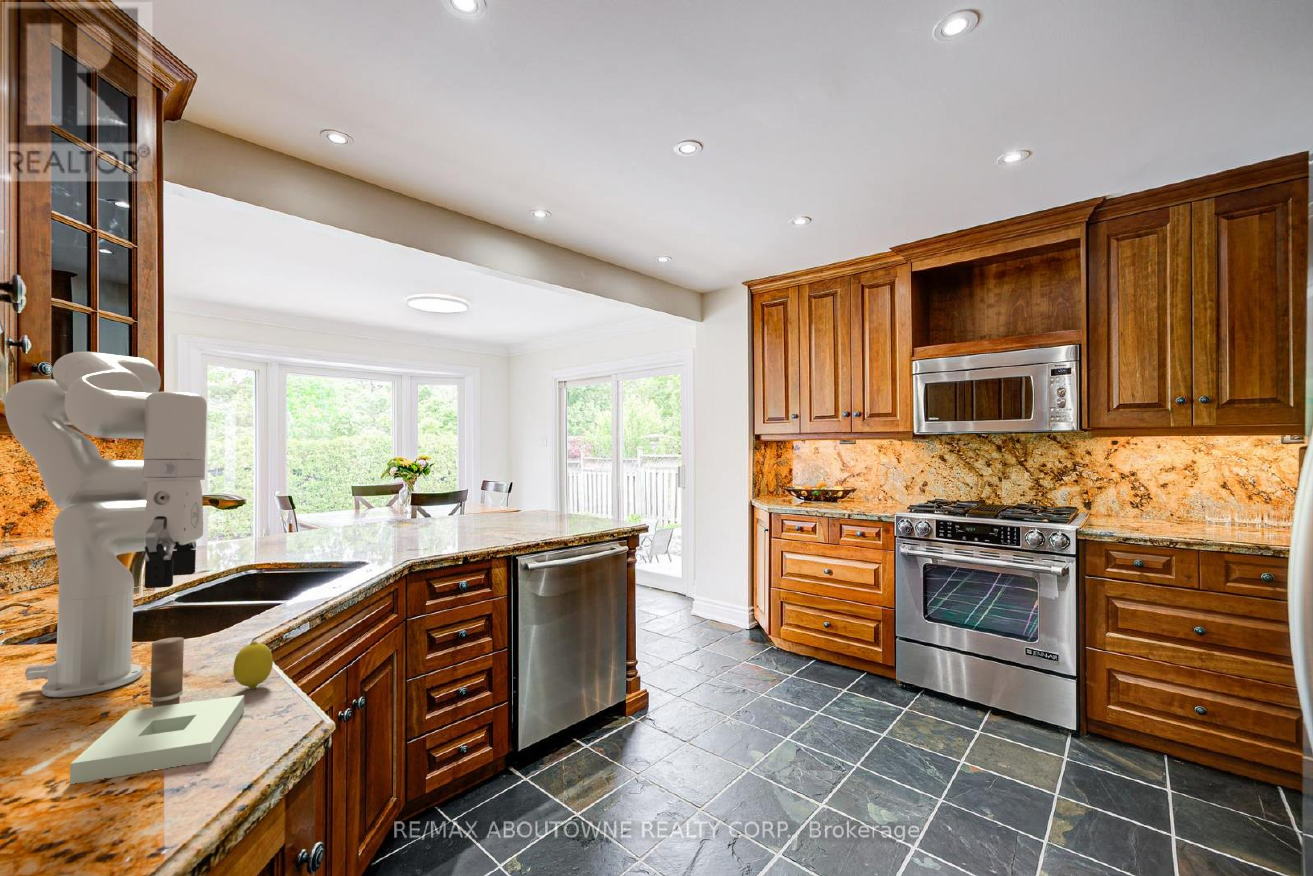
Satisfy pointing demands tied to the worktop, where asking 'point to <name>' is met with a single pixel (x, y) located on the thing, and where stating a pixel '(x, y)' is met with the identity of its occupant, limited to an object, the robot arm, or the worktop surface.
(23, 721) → the worktop surface
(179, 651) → the peg
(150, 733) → the board
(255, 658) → the lemon
